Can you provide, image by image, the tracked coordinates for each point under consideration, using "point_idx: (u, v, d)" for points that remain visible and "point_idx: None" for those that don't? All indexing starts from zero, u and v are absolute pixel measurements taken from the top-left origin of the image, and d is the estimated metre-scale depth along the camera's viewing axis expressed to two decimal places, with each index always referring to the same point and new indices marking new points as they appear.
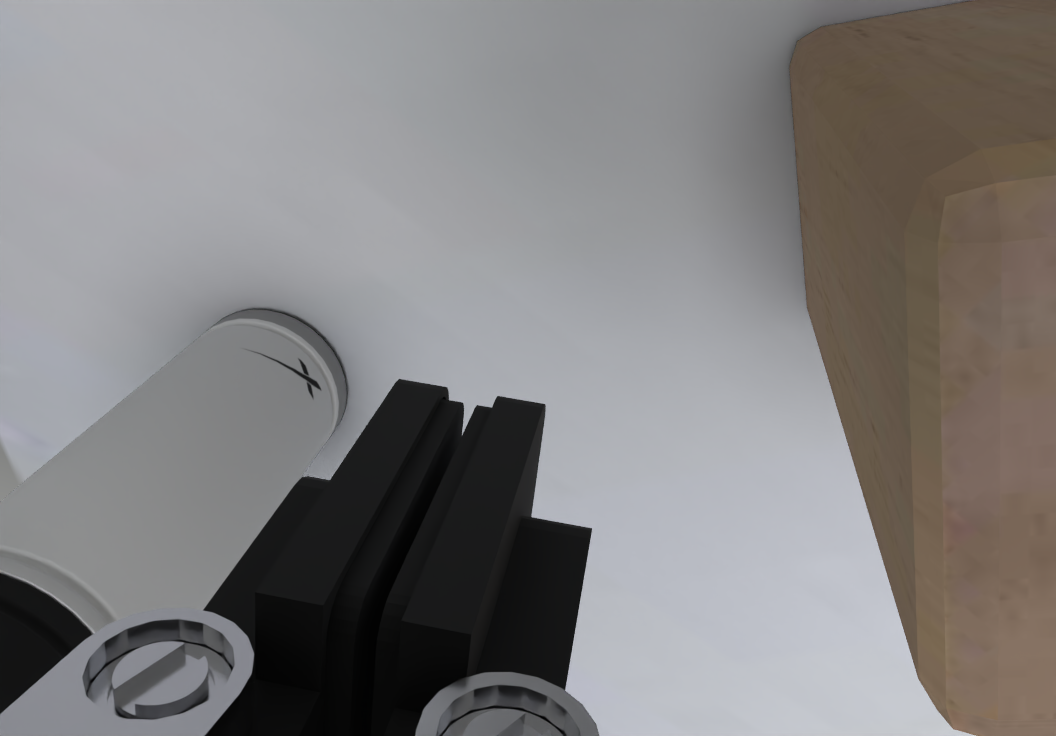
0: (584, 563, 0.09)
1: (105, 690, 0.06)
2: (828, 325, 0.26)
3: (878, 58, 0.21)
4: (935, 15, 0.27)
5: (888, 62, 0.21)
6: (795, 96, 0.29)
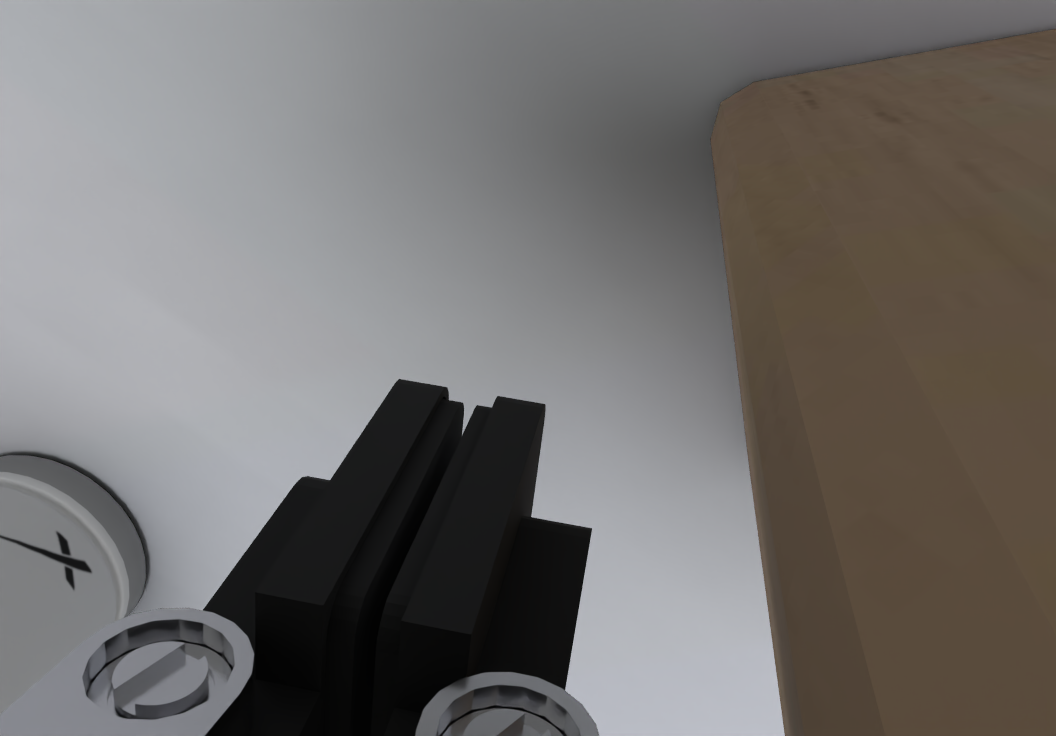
0: (584, 563, 0.09)
1: (105, 690, 0.06)
2: (763, 562, 0.16)
3: (824, 164, 0.12)
4: (923, 68, 0.17)
5: (840, 177, 0.11)
6: (716, 187, 0.19)
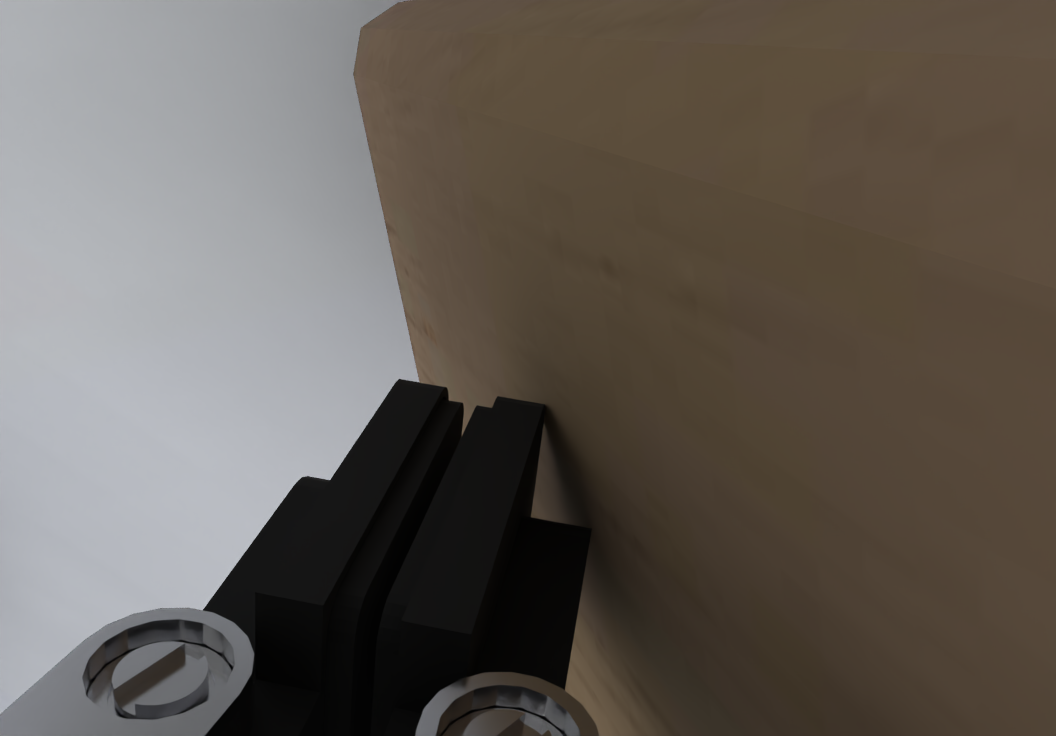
0: (584, 563, 0.09)
1: (105, 690, 0.06)
2: None
3: None
4: None
5: None
6: (378, 123, 0.15)
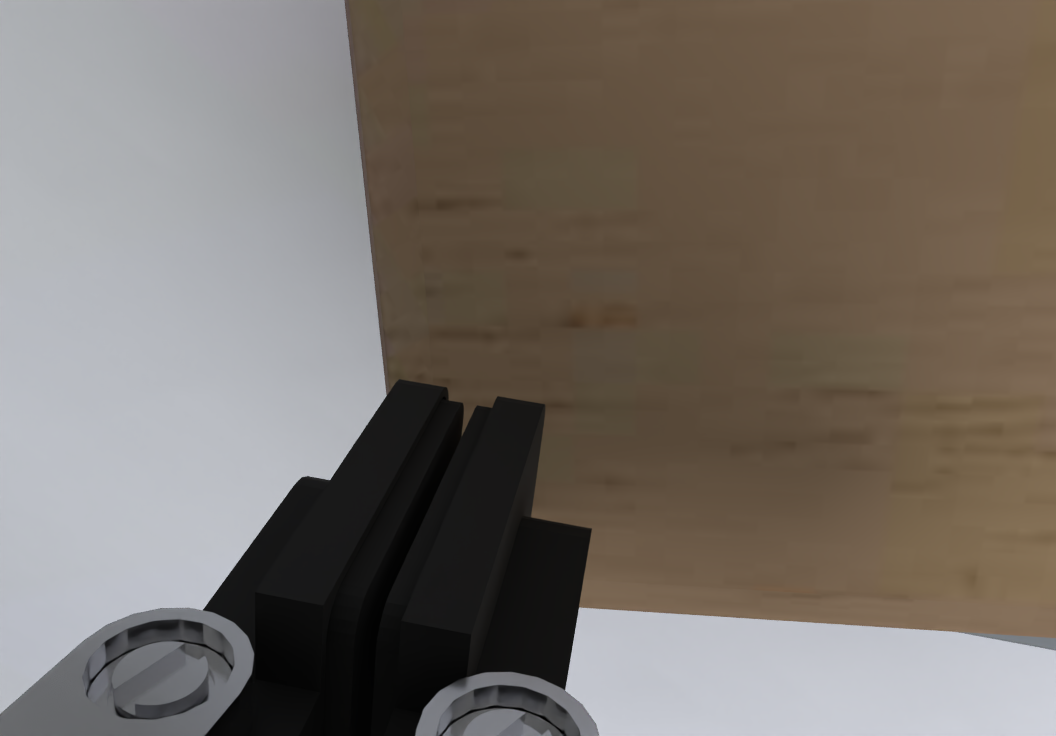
0: (584, 563, 0.09)
1: (105, 690, 0.06)
2: (960, 467, 0.12)
3: None
4: None
5: None
6: (529, 33, 0.11)
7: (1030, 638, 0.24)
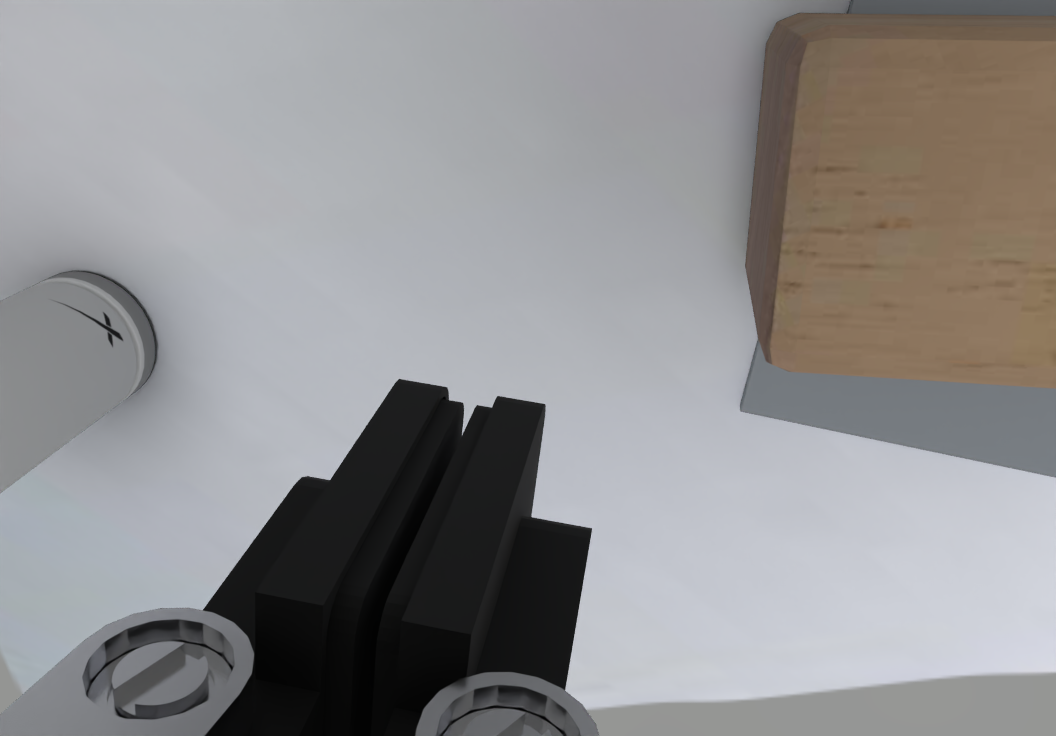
0: (584, 563, 0.09)
1: (104, 690, 0.06)
2: (1054, 299, 0.26)
3: None
4: (889, 21, 0.28)
5: None
6: (883, 96, 0.25)
7: None
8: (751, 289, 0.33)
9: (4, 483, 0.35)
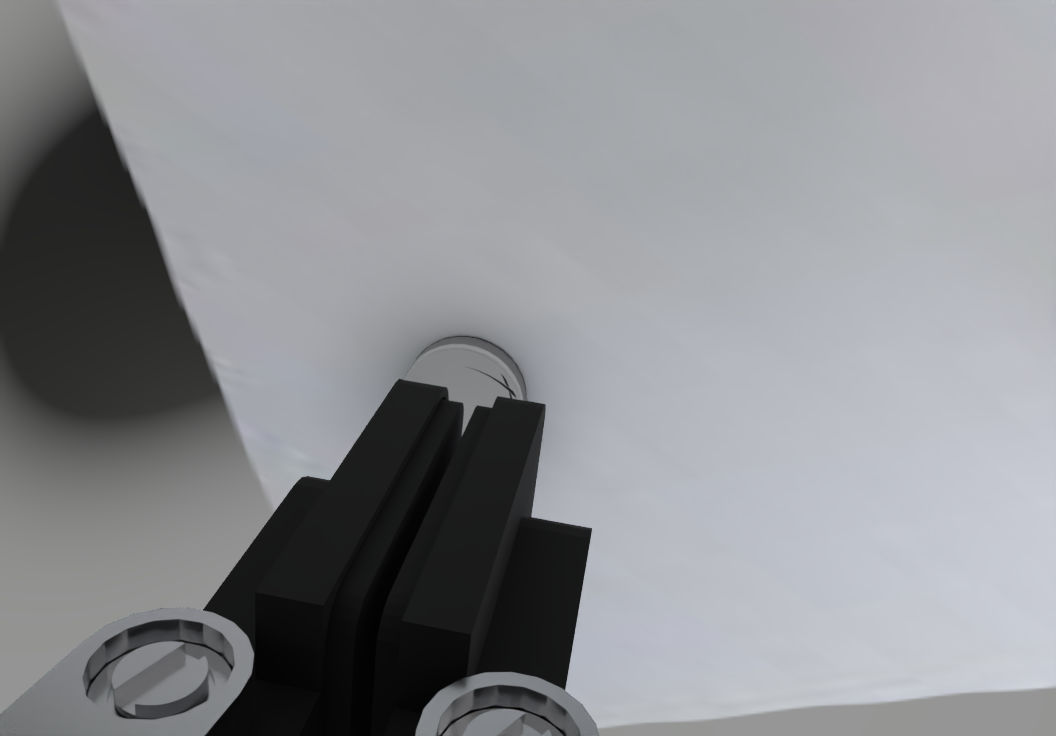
0: (584, 563, 0.09)
1: (104, 690, 0.06)
2: None
3: None
4: None
5: None
6: None
7: None
8: None
9: None
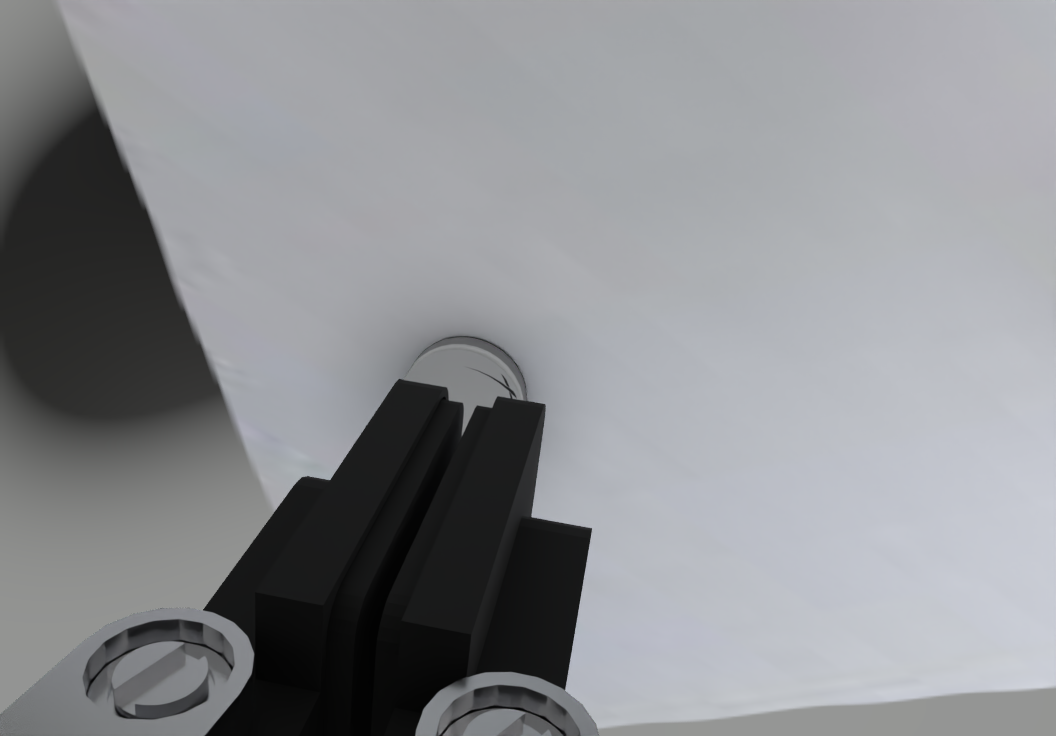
0: (584, 563, 0.09)
1: (105, 690, 0.06)
2: None
3: None
4: None
5: None
6: None
7: None
8: None
9: None
